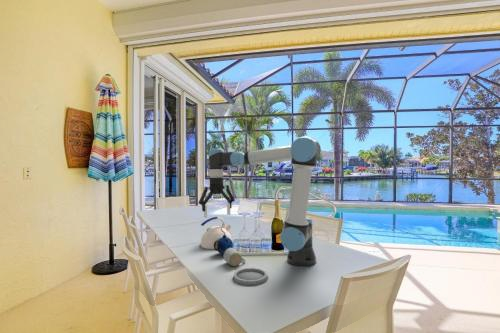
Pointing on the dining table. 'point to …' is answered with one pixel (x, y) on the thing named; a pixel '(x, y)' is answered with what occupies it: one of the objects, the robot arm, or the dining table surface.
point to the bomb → (223, 244)
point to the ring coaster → (250, 276)
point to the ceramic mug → (233, 257)
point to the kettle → (214, 233)
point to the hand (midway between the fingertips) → (217, 215)
